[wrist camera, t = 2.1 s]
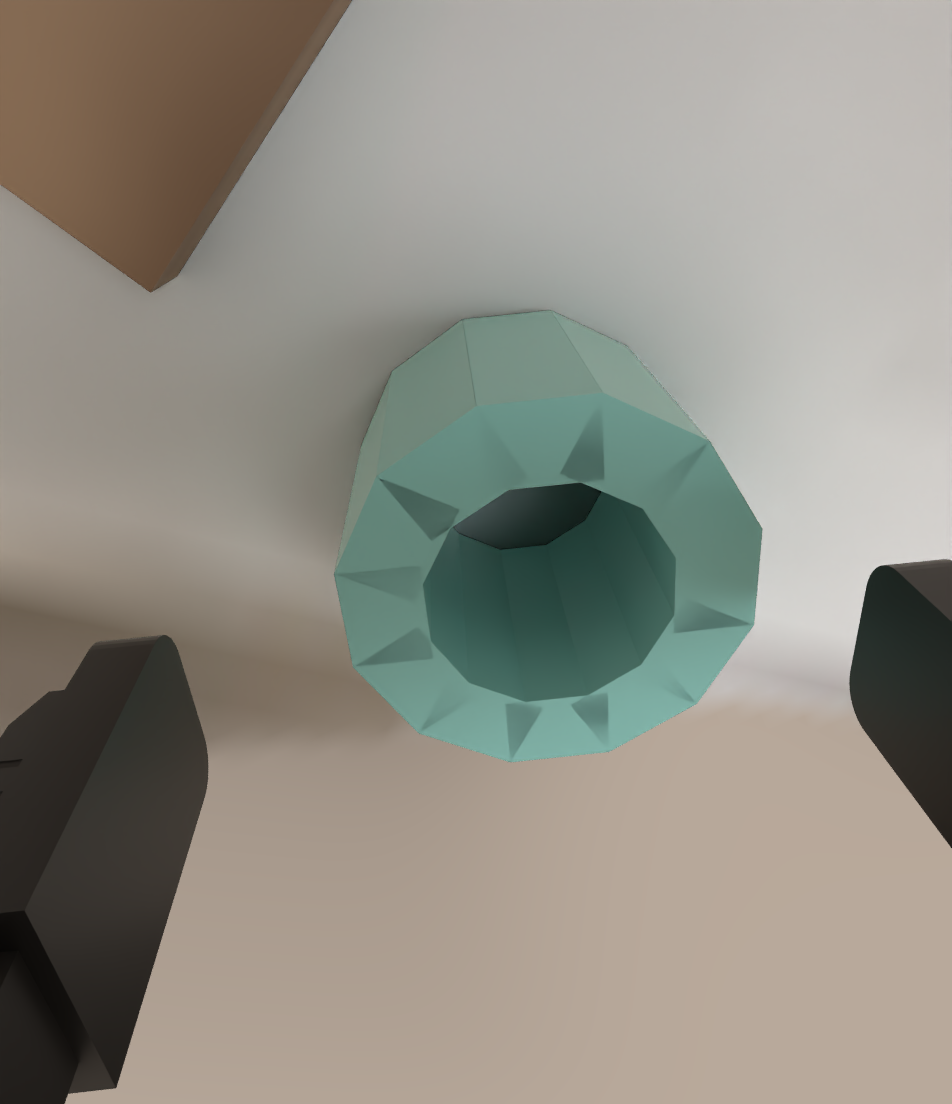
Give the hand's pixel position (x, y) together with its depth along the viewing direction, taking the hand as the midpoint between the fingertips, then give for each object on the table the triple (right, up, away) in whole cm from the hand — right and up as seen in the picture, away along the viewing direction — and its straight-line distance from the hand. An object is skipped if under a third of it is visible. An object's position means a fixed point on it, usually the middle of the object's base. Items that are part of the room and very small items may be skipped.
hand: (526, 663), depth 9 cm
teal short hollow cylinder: (0, +3, +7) cm, 7 cm away
